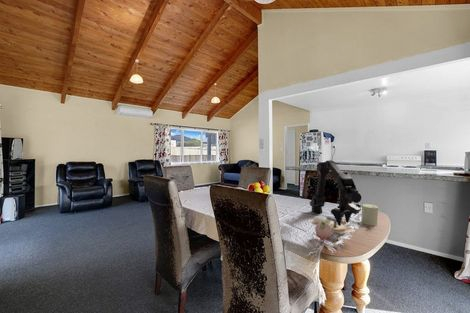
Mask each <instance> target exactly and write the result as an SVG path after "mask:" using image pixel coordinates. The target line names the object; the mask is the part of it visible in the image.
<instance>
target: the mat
mask: <svg viewBox="0 0 470 313" xmlns="http://www.w3.org/2000/svg"><path fill="white" fill-rule="evenodd" d="M292 228H295V229H298V230H300V231H303V232H307V231H306V230H304V229H302V228H299V227H296V226H294V225H292Z"/></svg>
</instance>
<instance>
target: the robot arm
mask: <svg viewBox="0 0 470 313" xmlns="http://www.w3.org/2000/svg"><path fill="white" fill-rule="evenodd" d="M316 171H317V174H318V177H317V184H316V190H315V192H314V194H313V195H312V198H311V200H310V201H309V206H310V207H311V212H312V213H313V214H317V215H322V214H323V207H325V204H326V199H327V198H326V196H325V195H324V192H325V186H326V180H327V179H326V178H327V175H328V174H329V173H330V172H331V173H332V175H334V177H335V178H336V183H337V184H338V187H337V189H338V190H339V194H338V196H339V197H338V199H337V202H338V205H337V206H336V207H335V208H332V209H331V210H330V214H331V215H333V216H334V217H333V218H334V219H336V221H337V223H338V225H339V226H341V225H342V224H341V221H343V218H344V219H345V220H344V221H345V222H346V224H348V223H349V222H350V220H351V217H352V215H353V214H354V215H357V214H359V213H360V211H362V205H361V204H360V202H361V200H362V195H361V193H359V190H357V186H356V184H355V182H354V179H353V178H352V177H351V176H350V175H348V174H345V173H344V171H342V169H340V167H339V166H338V165H337V164H336V161H334V160H327V161H323V162H321V161H319V162H318V163H317V164H316Z"/></svg>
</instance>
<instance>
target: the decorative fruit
mask: <svg viewBox="0 0 470 313" xmlns="http://www.w3.org/2000/svg"><path fill="white" fill-rule="evenodd" d="M314 228H315V230H314V231H315V234H316V236H317V238H319V239H320V240H322V241H324V240H327V239H329V238H330V237H331V236H332V232H333V231H331V228H330V226H329V225H327V224H325V223H324V222H321V223H319V224H317V225H315V227H314Z"/></svg>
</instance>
